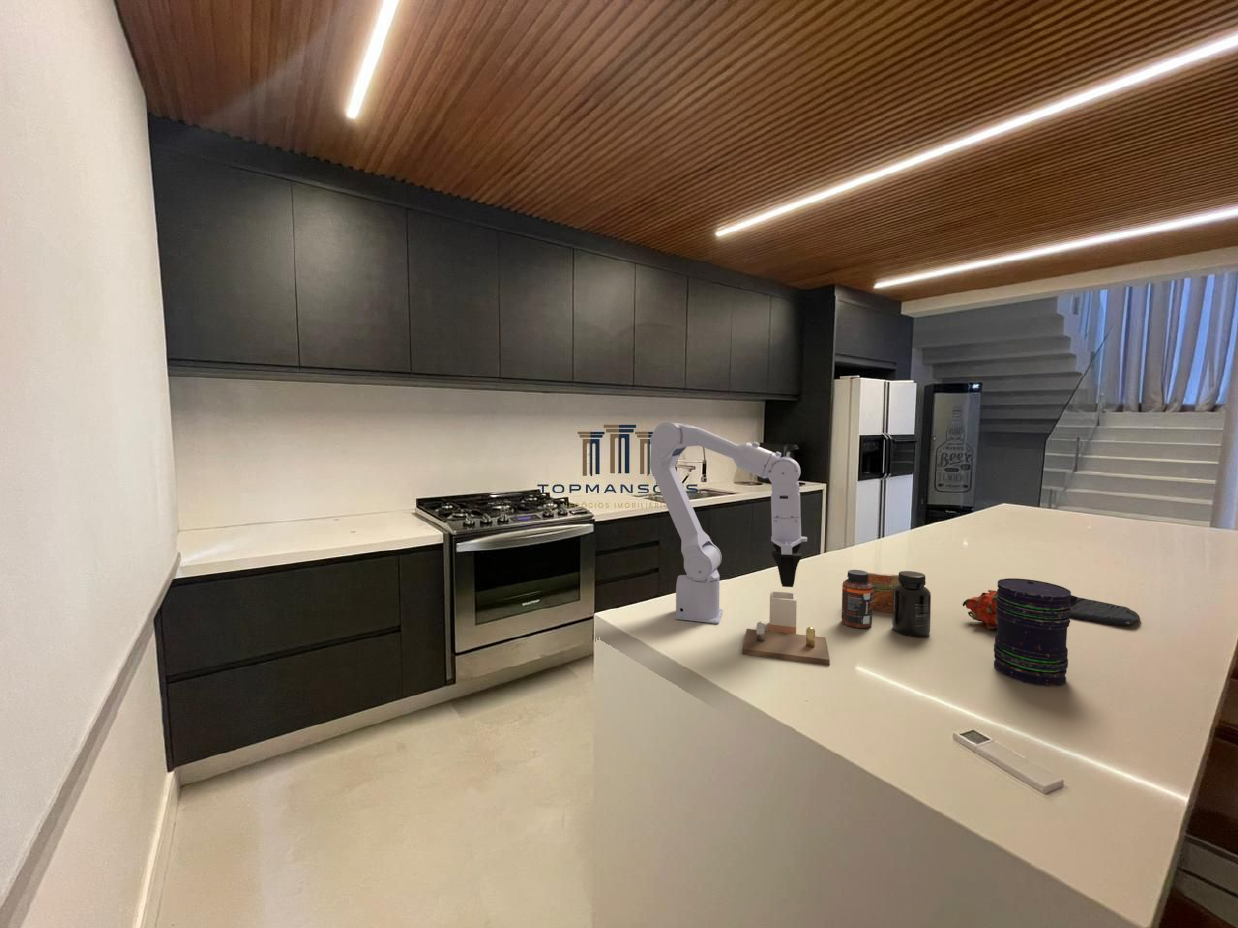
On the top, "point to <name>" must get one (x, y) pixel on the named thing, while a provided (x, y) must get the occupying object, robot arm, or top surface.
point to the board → (786, 647)
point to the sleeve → (783, 612)
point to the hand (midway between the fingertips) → (787, 581)
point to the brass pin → (810, 637)
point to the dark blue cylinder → (1032, 631)
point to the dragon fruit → (984, 608)
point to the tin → (883, 591)
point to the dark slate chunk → (1101, 612)
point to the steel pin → (760, 632)
